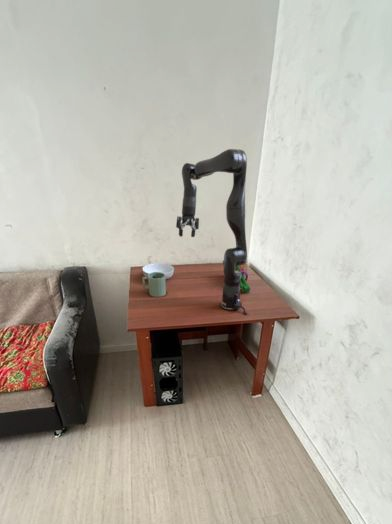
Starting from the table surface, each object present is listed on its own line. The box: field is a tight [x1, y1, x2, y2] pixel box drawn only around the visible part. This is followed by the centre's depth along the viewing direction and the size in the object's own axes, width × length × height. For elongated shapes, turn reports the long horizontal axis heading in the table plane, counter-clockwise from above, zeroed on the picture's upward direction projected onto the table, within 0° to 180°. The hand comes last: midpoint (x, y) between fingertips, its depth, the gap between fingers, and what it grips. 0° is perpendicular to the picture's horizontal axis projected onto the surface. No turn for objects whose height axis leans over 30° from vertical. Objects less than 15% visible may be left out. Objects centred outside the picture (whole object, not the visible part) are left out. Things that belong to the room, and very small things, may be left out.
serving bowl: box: [142, 262, 175, 280], centre depth 196 cm, size 21×21×7 cm
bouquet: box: [222, 259, 251, 293], centre depth 189 cm, size 20×16×30 cm
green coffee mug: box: [142, 272, 167, 298], centre depth 176 cm, size 14×10×12 cm
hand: (186, 236), depth 170 cm, fingers open, 8 cm apart
